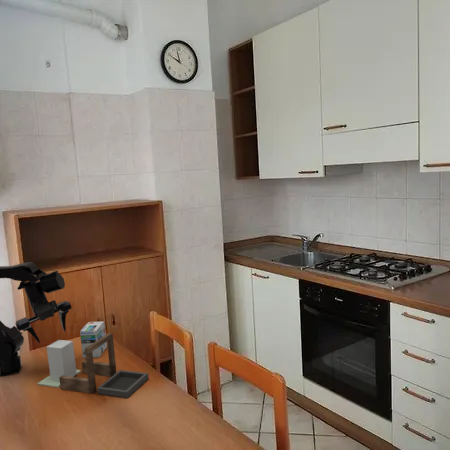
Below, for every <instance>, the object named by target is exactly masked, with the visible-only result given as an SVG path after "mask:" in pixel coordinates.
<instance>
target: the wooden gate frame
mask: <svg viewBox="0 0 450 450" xmlns="http://www.w3.org/2000/svg"><path fill="white" fill-rule="evenodd" d="M113 334H114V333H111V332H109V333H107V334H106V335H105V336H104V337H102V338H100V339H99V340H97V341H96V342H94V343H93V344H91V345H89V346H88V347H86V348H85V354H86V358H85V360H82V362H81V367H82V374H87V378H85V377H80V376H79V377H77V376H74V377H71V376H64V375H62V376H61V377H59V379H60V387H59V388H60V389H61V390H65V391H66V390H67V391H72V392H80V393H81V392H82V393H85V394H86V393H87V394H96V393H97V384H96V383H97V382H96V376H103V377H109V378H111V377H112V376H113V375H114V374H116V373H117V372H118V371H117V363H116V353H115V343H114V335H113ZM104 343H107V353H108V362H100V361H94V357H93V354H92V351H94V350H95V349H97V348H98V347H100V346H101V345H103V344H104Z"/></svg>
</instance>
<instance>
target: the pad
mask: <svg viewBox="0 0 450 450" xmlns="http://www.w3.org/2000/svg"><path fill="white" fill-rule="evenodd" d="M76 372H77V374H76V375H75V376H78V374H79V373H81V372H82V370H81V369H76ZM75 376H73V377H75ZM37 385H38V386H42V387H43V386H44V387H52V388H60V381H53V380H51V377H50V375H48V376H47V377H45V378H43V379H42V380H40V381H39V382H37Z"/></svg>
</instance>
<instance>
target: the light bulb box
mask: <svg viewBox="0 0 450 450" xmlns="http://www.w3.org/2000/svg"><path fill="white" fill-rule="evenodd" d="M79 335H80V344H81V352H82V358H83V359H86V354H85V348H86V347H88V346H89V345H91V344H93V343H94V342H96V341H97V340H99V339H100V338H102V337H104V336H105V335H107V334H106V324H105V321H89V322H87V323H86V324H85V325H84V326H83V327H82V328H81V330H80V331H79ZM107 348H108V346H107V342H106V343H104V344H103V345H101V346H100V347H98V348H97V349H95V350H94V351H92V354H93V358H100V357H101V356H102V354H103V352H104V351H105V350H106V349H107Z"/></svg>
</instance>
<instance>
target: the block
mask: <svg viewBox="0 0 450 450" xmlns="http://www.w3.org/2000/svg"><path fill="white" fill-rule="evenodd" d="M46 352H47V353H46V354H47V361H48V369H49V376H50V377H51V380H53V381H60V379H59V377H61V376H62V375H64V376H71V377H73V376H74V377H76V376H77V375H78V374H77V372H76V370H77V366H76V364H77V363H76V355H75V348H74V341H73V340H66V339H65V340H63V339H57V340H56V341H54V342H52V343H50V344H49V345H47V346H46ZM76 374H77V375H76Z"/></svg>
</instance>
